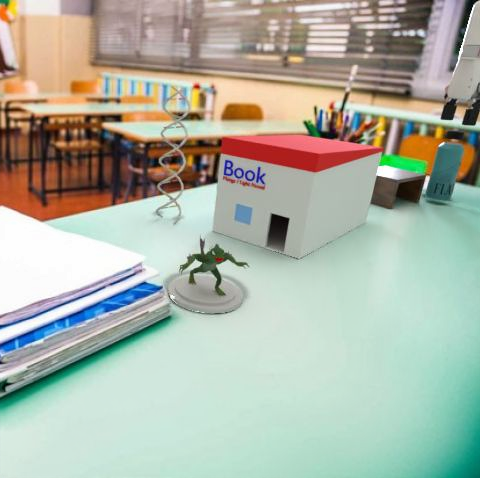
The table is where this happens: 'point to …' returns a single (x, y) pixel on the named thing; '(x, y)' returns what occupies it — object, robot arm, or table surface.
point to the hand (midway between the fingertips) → (457, 122)
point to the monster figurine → (207, 284)
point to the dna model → (176, 148)
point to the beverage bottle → (445, 167)
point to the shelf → (396, 186)
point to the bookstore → (293, 190)
